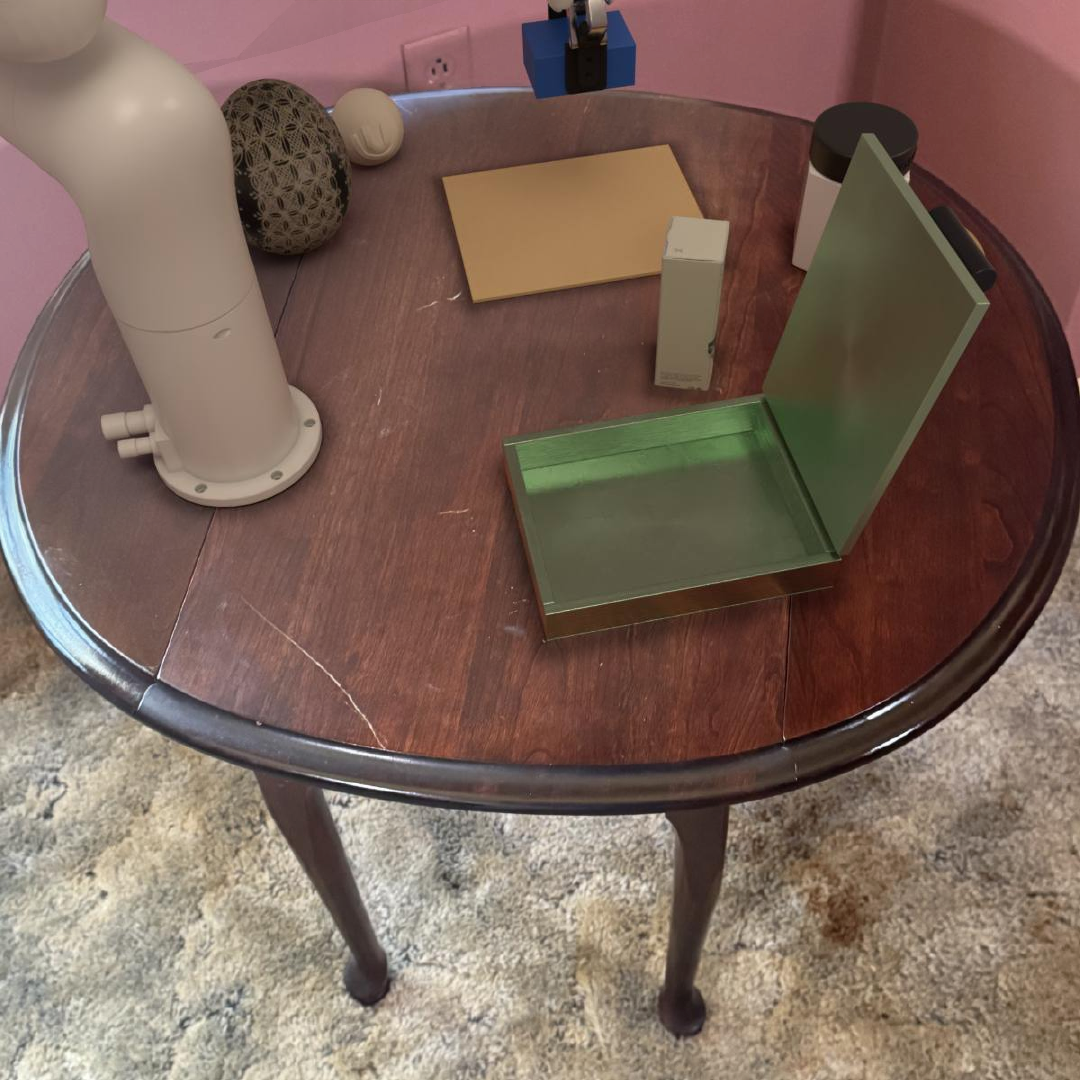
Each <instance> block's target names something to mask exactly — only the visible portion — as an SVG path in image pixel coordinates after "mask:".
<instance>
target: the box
mask: <svg viewBox="0 0 1080 1080" xmlns="http://www.w3.org/2000/svg"><path fill="white" fill-rule="evenodd" d="M729 232H730V221H728V220H721V219H720V220H719V219H709V218H704V219H701V218H691V217H680V216H672V217H671V219H670V223H669V227H668V231H667V235H666V240H665V245H664V250H663V256H662V267H661V274H660V285H659V299H658V316H657V318H658V319H657V334H656V335H657V336H656V351H655V352H656V354H655V368H654V369H655V370H654V371H655V372H654V382H653V385H655V386H660V387H668V388H676V389H683V390H684V389H685V390H694V391H695V390H696V391H709V388H710V383H711V379H712V373H713V367H714V360H715V354H716V353H715V352H716V343H717V335H718V326H719V325H718V324H719V316H720V308H721V299H722V291H723V280H724V272H725V271H724V270H725V263H726V255H727V249H728V240H729Z"/></svg>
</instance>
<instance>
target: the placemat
mask: <svg viewBox="0 0 1080 1080" xmlns="http://www.w3.org/2000/svg"><path fill="white" fill-rule="evenodd" d="M441 181H442V184H443V188H444V192H445V197H446V200H447V204H448V208H449V212H450V216H451V220H452V224H453V228H454V232H455V236H456V240H457V245H458V248H459V252H460V257H461V261H462V264H463V269H464V273H465V276H466V277H465V278H466V280H467V284H468V288H469V293H470V297H471V301H472V303H473V304H478V303H485V302H491V301H498V300H505V299H510V298H511V299H512V298H517V297H523V296H530V295H537V294H543V293H548V292H554V291H555V292H556V291H561V290H567V289H575V288H581V287H586V286H587V287H588V286H593V285H601V284H605V283H611V282H619V281H625V280H631V279H638V278H643V277H649V276H656V275H661V267H662V256H663V250H664V245H665V240H666V235H667V231H668V227H669V223H670V219H671V217H672V216H680V217H691V218H701V219H705V217H704V216H703V213H702V211H701V209H700V207H699V205H698V203H697V201H696V199H695V197H694V195H693V192H692V191H691V189H690V187H689V184H688V182H687V180H686V178H685V176H684V174H683V172H682V169H681V167H680V166H679V164H678V162H677V159H676V157H675V155H674V153H673V151H672V148H671V147H670V144H668V143H667V144H661V145H654V146H653V145H652V146H647V147H641V148H634V149H627V150H619V151H613V152H605V153H599V154H593V155H586V156H579V157H572V158H566V159H559V160H551V161H545V162H538V163H530V164H524V165H517V166H510V167H504V168H497V169H489V170H482V171H476V172H470V173H463V174H455V175H450V176H448V175H447V176H443V177H442V178H441Z"/></svg>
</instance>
